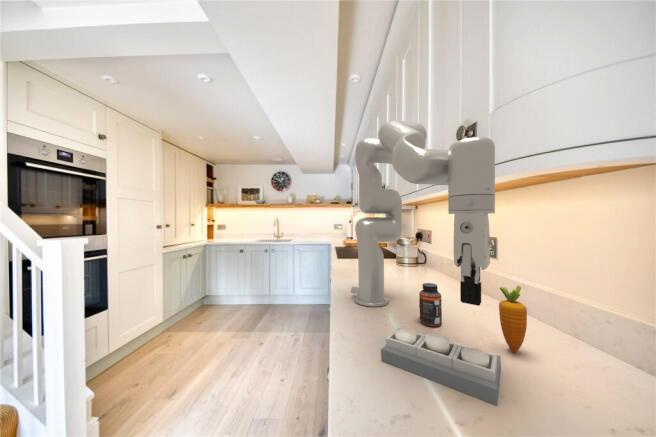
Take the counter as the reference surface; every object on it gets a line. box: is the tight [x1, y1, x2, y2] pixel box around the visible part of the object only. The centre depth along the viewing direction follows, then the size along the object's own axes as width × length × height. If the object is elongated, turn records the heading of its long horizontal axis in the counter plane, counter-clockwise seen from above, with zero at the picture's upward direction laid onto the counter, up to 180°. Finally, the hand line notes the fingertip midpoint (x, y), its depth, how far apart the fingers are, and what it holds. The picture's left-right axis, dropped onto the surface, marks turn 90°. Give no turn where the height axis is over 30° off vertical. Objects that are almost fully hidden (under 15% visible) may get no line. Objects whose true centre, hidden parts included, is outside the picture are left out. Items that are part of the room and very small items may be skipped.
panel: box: [380, 327, 502, 406], centre depth 48 cm, size 20×12×4 cm, turn 51°
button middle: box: [425, 333, 450, 355], centre depth 48 cm, size 4×4×2 cm
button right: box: [461, 346, 489, 369], centre depth 44 cm, size 4×4×2 cm
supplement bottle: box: [418, 282, 443, 328], centre depth 68 cm, size 6×6×11 cm
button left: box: [395, 328, 417, 345], centre depth 52 cm, size 4×4×2 cm
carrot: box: [498, 285, 528, 354], centre depth 53 cm, size 5×5×15 cm
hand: (470, 302), depth 44 cm, fingers closed
